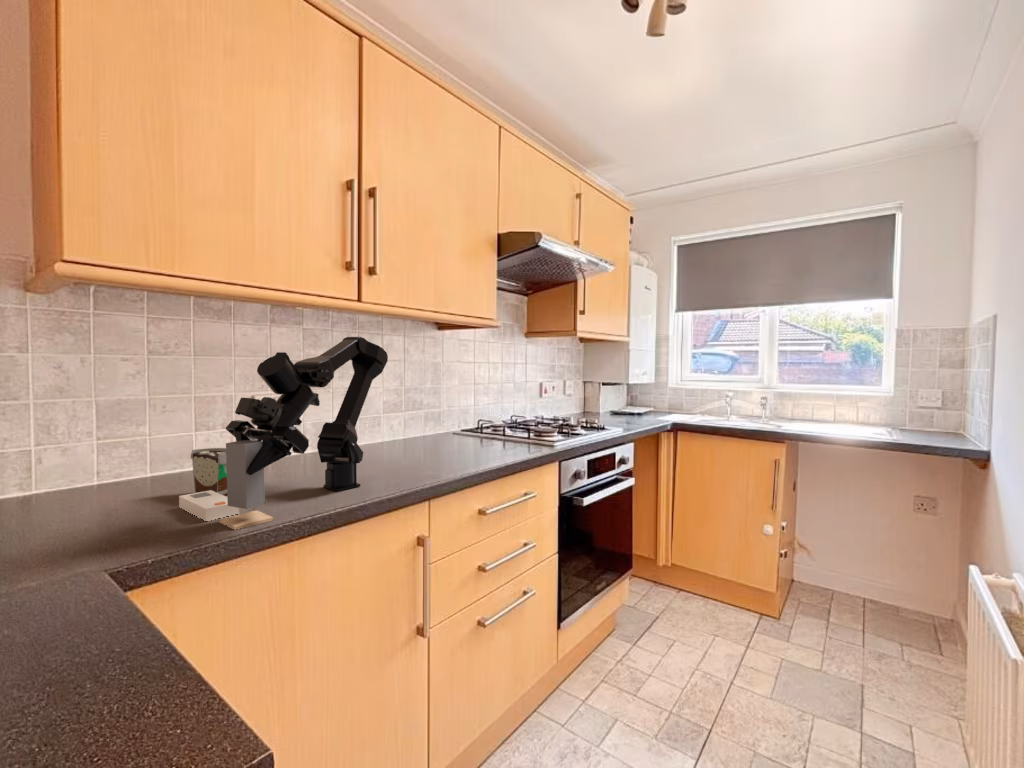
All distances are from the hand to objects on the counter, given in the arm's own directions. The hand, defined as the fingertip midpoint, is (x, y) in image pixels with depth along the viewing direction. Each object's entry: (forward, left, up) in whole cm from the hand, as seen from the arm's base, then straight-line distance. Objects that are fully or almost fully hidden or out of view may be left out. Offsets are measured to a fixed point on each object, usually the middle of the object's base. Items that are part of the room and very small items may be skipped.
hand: (238, 472), depth 92 cm
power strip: (+1, -15, -10) cm, 18 cm away
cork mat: (-1, 0, -10) cm, 10 cm away
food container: (-6, -26, -10) cm, 28 cm away
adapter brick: (-1, 0, -7) cm, 7 cm away
